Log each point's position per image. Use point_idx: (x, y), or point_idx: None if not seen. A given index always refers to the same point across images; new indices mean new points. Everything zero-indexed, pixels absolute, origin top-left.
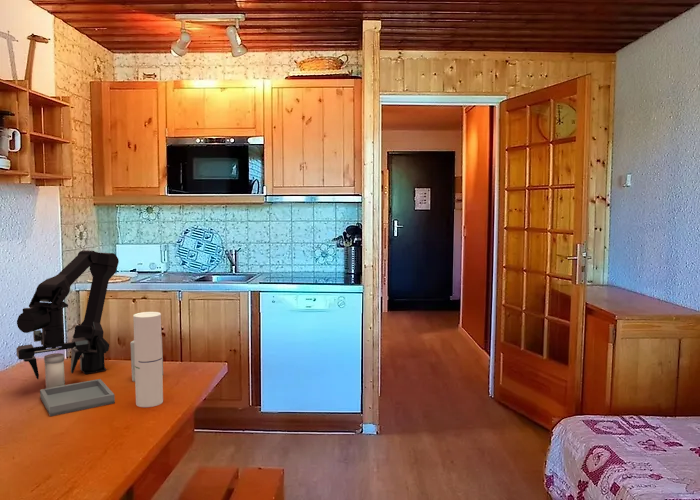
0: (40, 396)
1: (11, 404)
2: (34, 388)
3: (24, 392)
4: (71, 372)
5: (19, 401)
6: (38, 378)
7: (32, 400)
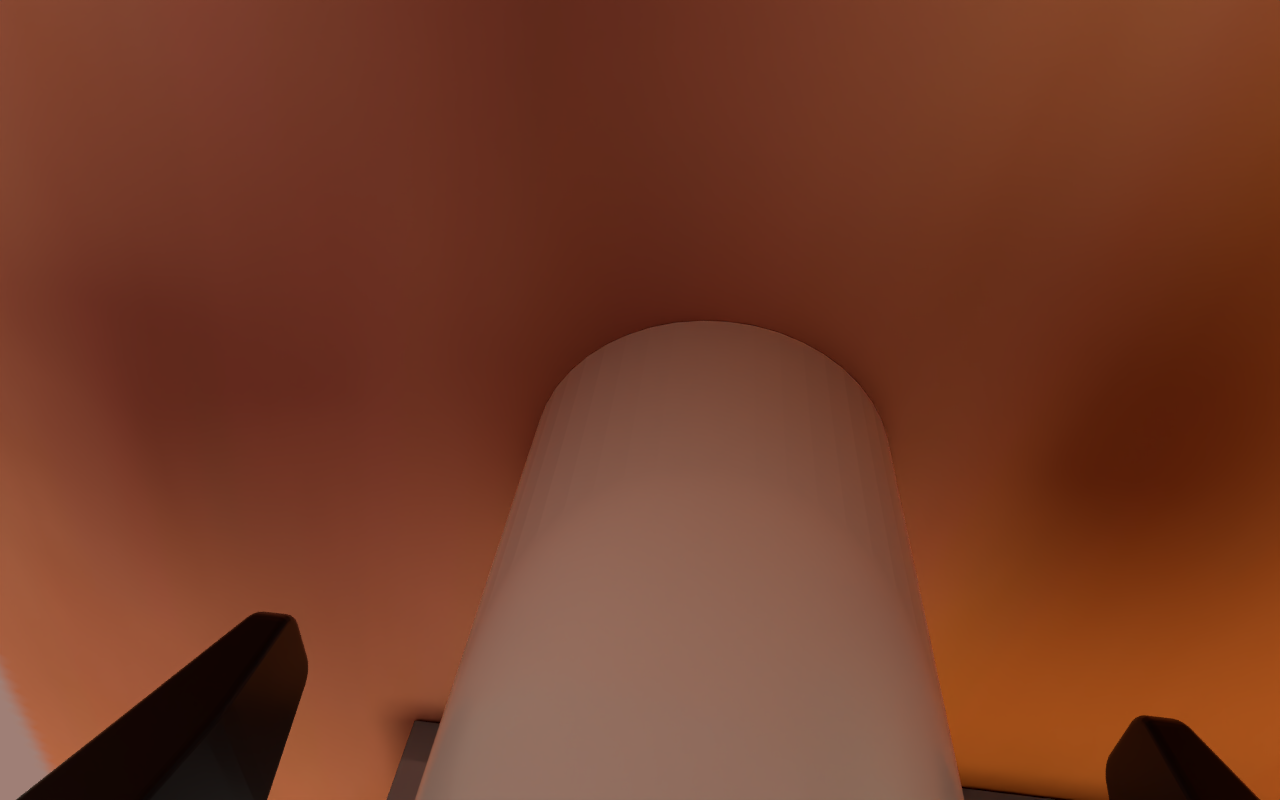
0: (406, 759)
1: (74, 693)
2: (322, 249)
3: (151, 366)
4: (1120, 779)
5: (154, 666)
6: (297, 695)
7: (318, 722)
